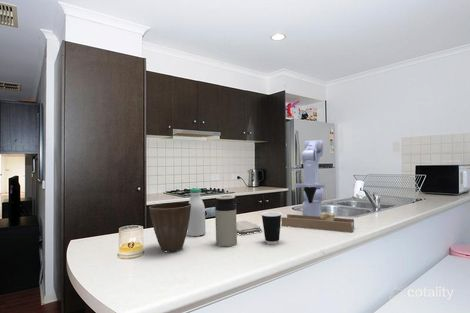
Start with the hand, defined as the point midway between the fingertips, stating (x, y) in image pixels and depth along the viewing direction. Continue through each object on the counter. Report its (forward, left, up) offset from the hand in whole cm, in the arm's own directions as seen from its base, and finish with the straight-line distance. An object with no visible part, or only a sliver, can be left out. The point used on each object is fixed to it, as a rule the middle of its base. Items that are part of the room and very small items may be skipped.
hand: (310, 202), depth 133 cm
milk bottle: (-40, -37, -11) cm, 56 cm away
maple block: (+8, -3, -8) cm, 12 cm away
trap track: (+3, -3, -10) cm, 11 cm away
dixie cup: (-6, -34, -11) cm, 37 cm away
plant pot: (-36, -57, -11) cm, 69 cm away
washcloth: (-26, -22, -11) cm, 36 cm away
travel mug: (-21, -43, -11) cm, 49 cm away
